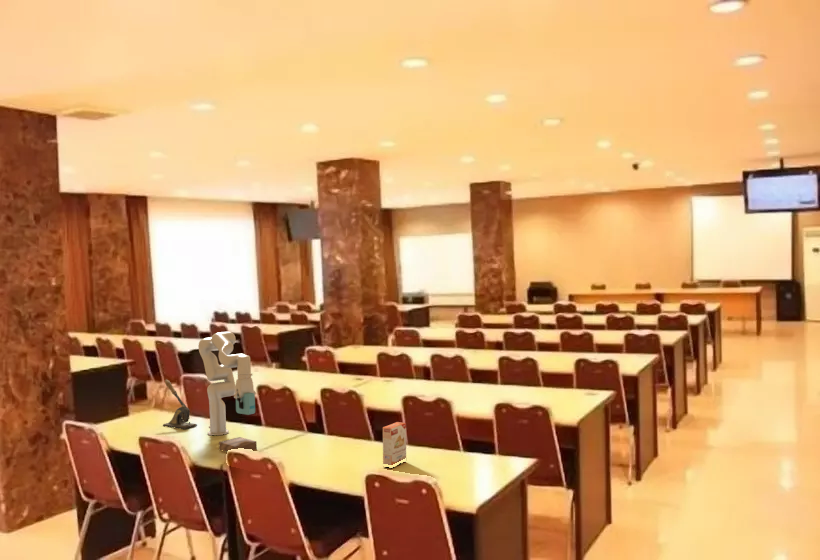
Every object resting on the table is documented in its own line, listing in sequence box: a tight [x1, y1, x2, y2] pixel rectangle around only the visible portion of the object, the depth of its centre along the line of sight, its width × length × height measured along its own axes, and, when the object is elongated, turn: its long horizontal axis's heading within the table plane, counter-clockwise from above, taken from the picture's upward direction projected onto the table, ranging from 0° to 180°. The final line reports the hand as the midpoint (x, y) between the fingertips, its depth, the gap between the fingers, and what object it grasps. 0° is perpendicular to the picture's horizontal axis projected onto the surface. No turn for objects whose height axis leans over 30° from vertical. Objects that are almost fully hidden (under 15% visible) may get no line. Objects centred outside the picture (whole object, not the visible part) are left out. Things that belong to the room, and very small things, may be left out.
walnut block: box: [218, 436, 257, 452], centre depth 406 cm, size 16×14×5 cm
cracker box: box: [382, 421, 407, 465], centre depth 369 cm, size 14×6×21 cm, turn 148°
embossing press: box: [162, 379, 198, 430], centre depth 468 cm, size 11×24×30 cm, turn 54°
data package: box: [235, 393, 256, 416], centre depth 418 cm, size 12×4×12 cm, turn 53°
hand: (245, 407), depth 418 cm, fingers closed on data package, 4 cm apart
